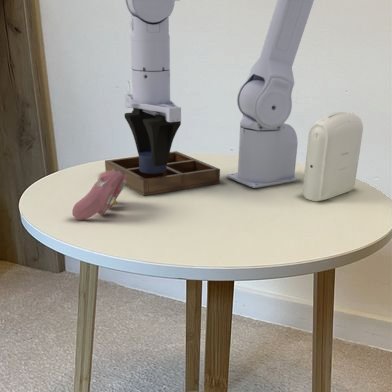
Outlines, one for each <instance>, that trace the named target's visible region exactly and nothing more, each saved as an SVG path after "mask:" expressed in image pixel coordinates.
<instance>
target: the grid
mask: <svg viewBox="0 0 392 392" xmlns="http://www.w3.org/2000/svg"><path fill="white" fill-rule="evenodd" d="M104 167H105V172H106V171H113V169H114V170H115V171H116V172H118V171H119V172H122V173H124V175H126V176H127V181H126V183H125V186H126V187H127V188H129V189H131V190H133V191H135V192H137V193H138V194H140V195H142V196H144V197H145V196H151V195H157V194H163V193H168V192H175V191H182V190H186V189H195V188H199V187H205V186H210V185H217V184H218V185H219V184H220V183H221V182H220V181H221V169H220V168H218V167H217V166H214V165H212V164H209V163H206V162H204V161H202V160H199V159H197V158H194V157H192V156H189V155H186V154H184V153H182V152H179V151H178V150H174V151H170V153H169V158H168V162H167V165H166V171H165V172H163V173H159V174H147V173H142V172H140V171H139V155H135V156H128V157H121V158H114V159H113V158H112V159H107V160H104Z"/></svg>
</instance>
